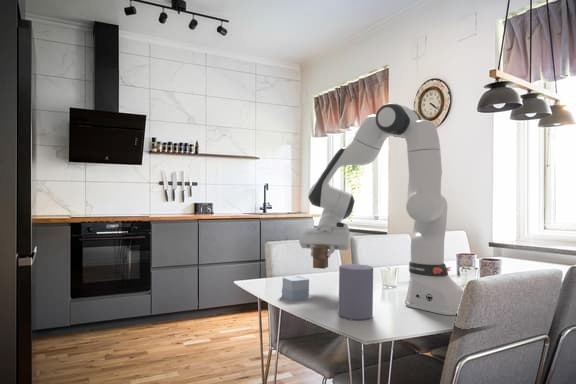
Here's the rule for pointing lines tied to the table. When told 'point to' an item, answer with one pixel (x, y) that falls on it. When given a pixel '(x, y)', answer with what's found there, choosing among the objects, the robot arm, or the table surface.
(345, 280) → the container
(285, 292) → the tower base
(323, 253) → the walnut block
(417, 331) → the table surface
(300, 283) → the tower top
